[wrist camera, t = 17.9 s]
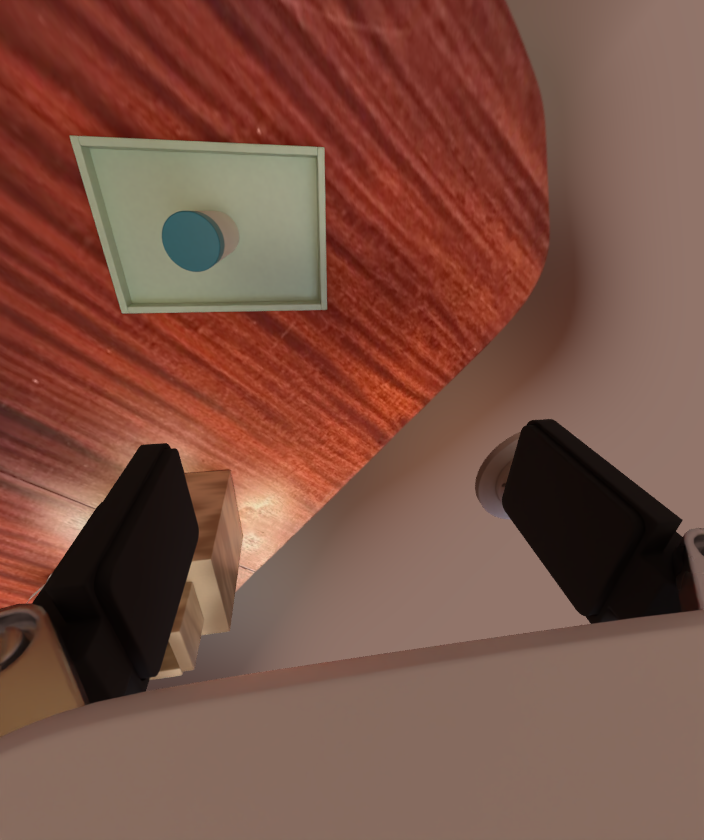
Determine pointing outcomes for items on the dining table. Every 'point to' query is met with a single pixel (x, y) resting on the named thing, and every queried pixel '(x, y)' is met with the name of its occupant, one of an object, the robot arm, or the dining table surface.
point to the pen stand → (206, 571)
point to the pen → (199, 238)
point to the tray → (209, 191)
